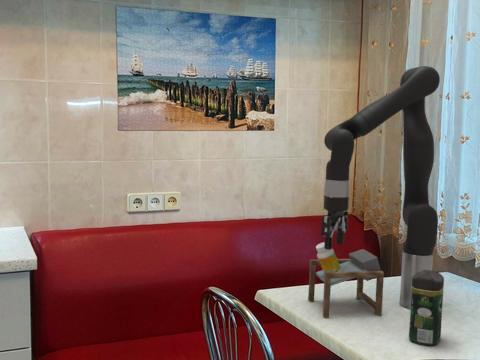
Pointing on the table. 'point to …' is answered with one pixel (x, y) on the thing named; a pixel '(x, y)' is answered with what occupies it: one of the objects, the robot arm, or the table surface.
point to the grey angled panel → (355, 265)
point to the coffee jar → (426, 307)
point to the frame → (357, 274)
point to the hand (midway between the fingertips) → (334, 246)
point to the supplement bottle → (327, 259)
